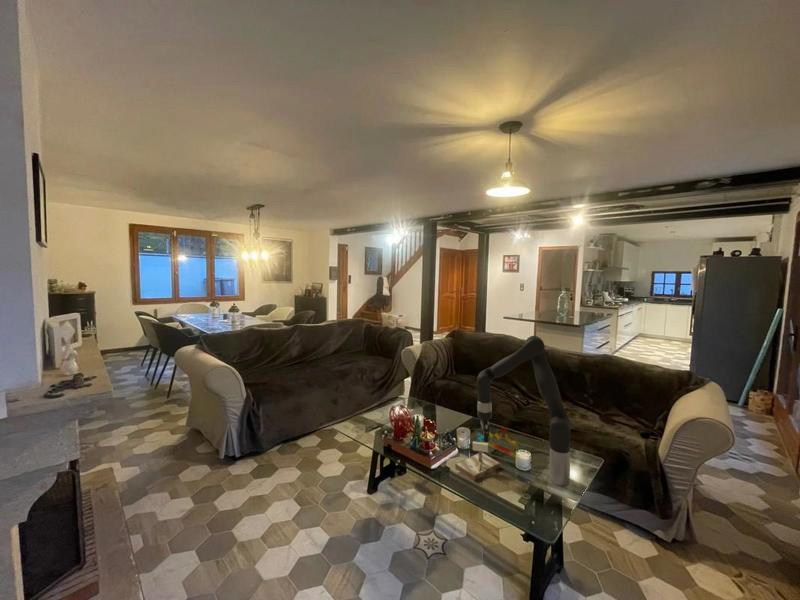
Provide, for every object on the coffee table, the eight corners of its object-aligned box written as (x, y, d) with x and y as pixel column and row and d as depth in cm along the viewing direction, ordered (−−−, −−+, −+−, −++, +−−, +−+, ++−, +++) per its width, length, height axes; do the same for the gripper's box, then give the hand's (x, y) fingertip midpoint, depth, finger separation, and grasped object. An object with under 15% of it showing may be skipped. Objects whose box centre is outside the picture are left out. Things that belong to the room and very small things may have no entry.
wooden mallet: (473, 458, 194) (473, 441, 193) (487, 461, 191) (487, 443, 190) (471, 469, 184) (470, 450, 183) (486, 472, 182) (486, 453, 181)
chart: (476, 441, 218) (476, 418, 217) (479, 439, 221) (479, 416, 219) (521, 461, 196) (521, 436, 194) (524, 459, 198) (524, 434, 196)
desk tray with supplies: (480, 455, 202) (480, 451, 202) (501, 467, 190) (501, 463, 190) (455, 468, 191) (455, 463, 191) (474, 481, 179) (474, 476, 179)
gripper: (475, 403, 195) (476, 431, 197) (479, 414, 181) (479, 444, 183) (489, 403, 194) (490, 431, 196) (493, 414, 180) (494, 444, 182)
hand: (485, 437), depth 189 cm, fingers open, 8 cm apart
